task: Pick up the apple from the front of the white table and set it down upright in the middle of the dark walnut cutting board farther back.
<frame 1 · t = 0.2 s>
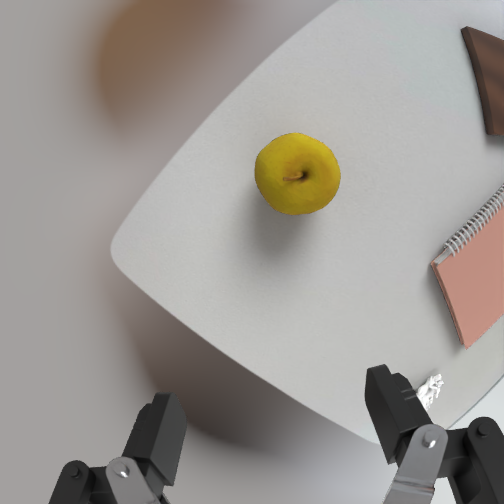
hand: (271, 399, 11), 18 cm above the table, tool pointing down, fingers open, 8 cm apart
apple: (290, 172, 26), on the table
figurine: (421, 392, 34), on the table
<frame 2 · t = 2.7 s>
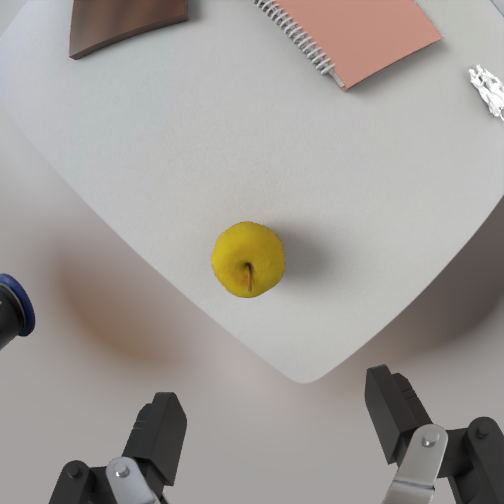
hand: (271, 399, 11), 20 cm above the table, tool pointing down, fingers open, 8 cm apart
apple: (249, 245, 29), on the table
figurine: (487, 90, 22), on the table
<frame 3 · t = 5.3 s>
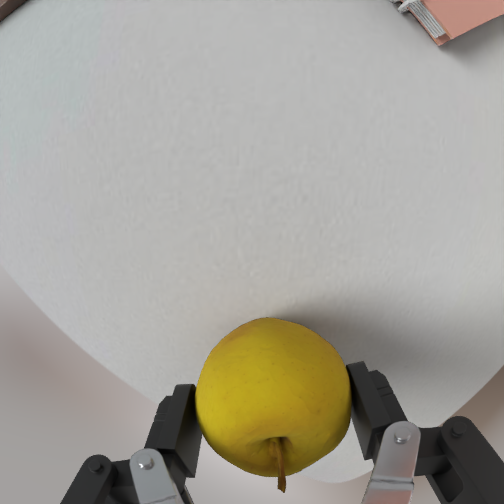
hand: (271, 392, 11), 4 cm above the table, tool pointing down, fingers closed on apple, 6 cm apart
apple: (270, 341, 15), on the table, touching gripper
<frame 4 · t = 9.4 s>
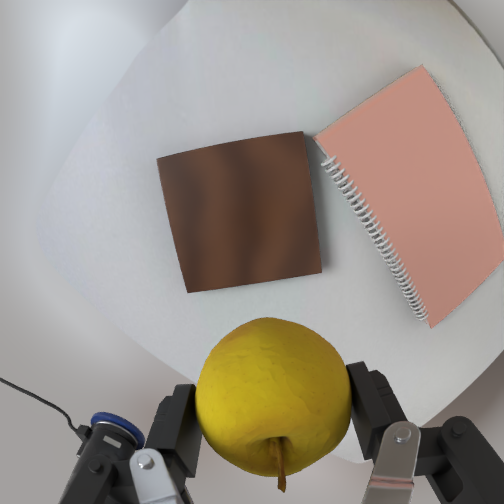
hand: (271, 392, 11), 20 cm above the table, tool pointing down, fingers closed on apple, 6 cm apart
apple: (270, 340, 15), point 16 cm above the table, touching gripper
notebook: (429, 205, 28), on the table
cutting board: (241, 213, 29), on the table
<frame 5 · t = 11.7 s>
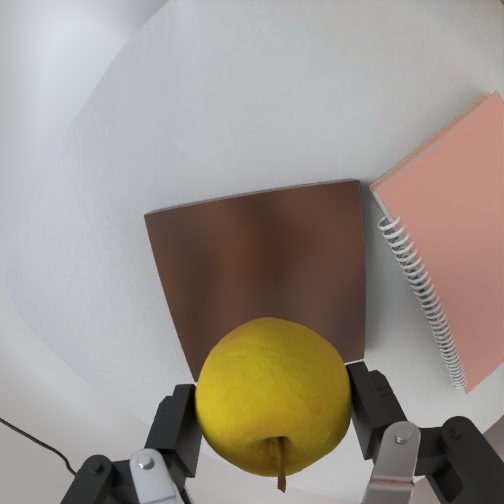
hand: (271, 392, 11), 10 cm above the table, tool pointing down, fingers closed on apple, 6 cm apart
apple: (270, 340, 15), point 6 cm above the table, touching gripper
notebook: (486, 265, 20), on the table
cutting board: (266, 289, 21), on the table
when the fingers open (5 cm above the table, at t = 13.6 s): apple stays where it is, resting on cutting board.
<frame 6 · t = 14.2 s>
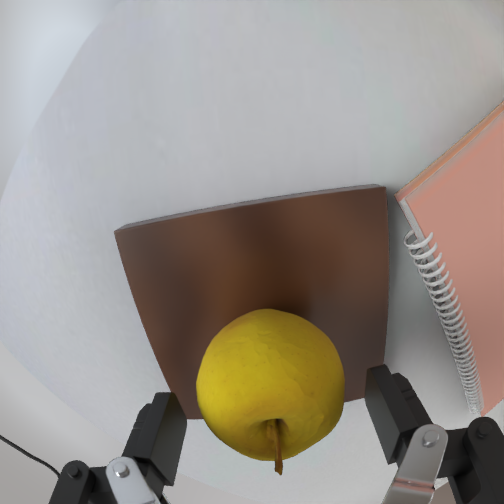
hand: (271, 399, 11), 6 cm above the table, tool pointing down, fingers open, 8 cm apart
apple: (268, 332, 16), point 1 cm above the table, touching cutting board
cutting board: (267, 319, 17), on the table
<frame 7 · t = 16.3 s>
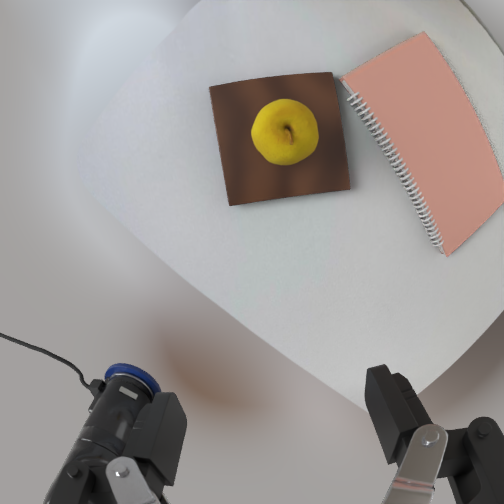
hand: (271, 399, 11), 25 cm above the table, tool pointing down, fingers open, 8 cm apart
apple: (281, 135, 30), point 1 cm above the table, touching cutting board
notebook: (436, 143, 30), on the table
cutting board: (280, 136, 31), on the table
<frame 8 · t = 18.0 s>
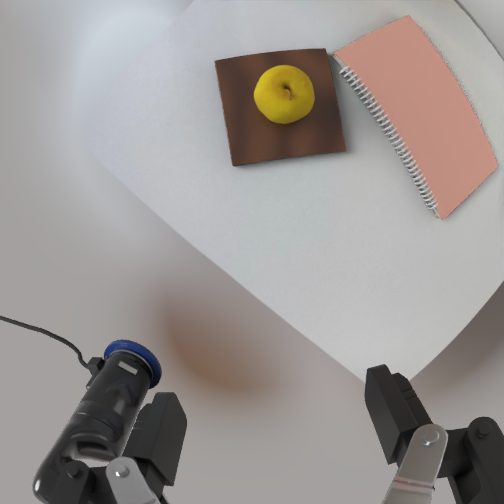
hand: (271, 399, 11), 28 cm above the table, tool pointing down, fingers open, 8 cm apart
apple: (281, 102, 31), point 1 cm above the table, touching cutting board
notebook: (424, 113, 32), on the table
cutting board: (280, 104, 32), on the table
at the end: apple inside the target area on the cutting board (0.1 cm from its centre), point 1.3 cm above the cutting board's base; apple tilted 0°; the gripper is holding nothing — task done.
